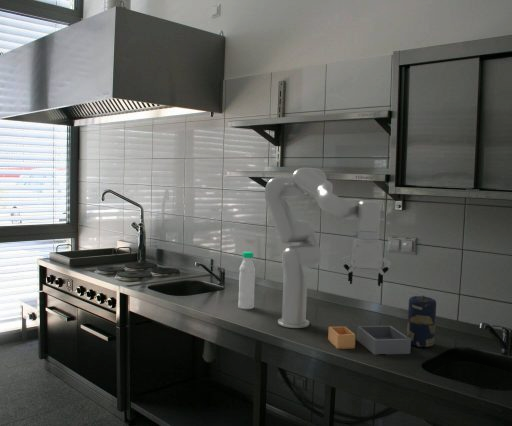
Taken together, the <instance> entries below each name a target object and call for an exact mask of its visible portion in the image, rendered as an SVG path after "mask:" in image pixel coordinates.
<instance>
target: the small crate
mask: <svg viewBox="0 0 512 426" xmlns="http://www.w3.org/2000/svg"><path fill="white" fill-rule="evenodd" d="M327 334H328V336H327V340H328V341H329V342H330V343H331V345H333V346H334V347H335V348H336V349H337V350H340V349H341V350H342V349H344V350H345V349H346V350H347V349H356V334H355V333H354V332H353V331H352V330H350V329H349V328H348V327H347V326H328V332H327Z"/></svg>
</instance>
